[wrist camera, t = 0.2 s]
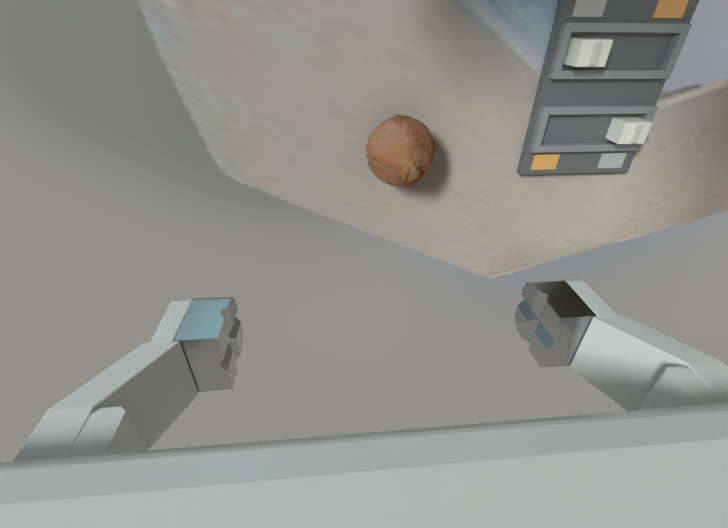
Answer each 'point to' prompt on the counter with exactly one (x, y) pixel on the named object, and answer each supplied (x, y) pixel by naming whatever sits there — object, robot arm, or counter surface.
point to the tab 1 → (587, 52)
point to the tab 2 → (628, 130)
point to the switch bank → (601, 82)
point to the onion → (400, 151)
